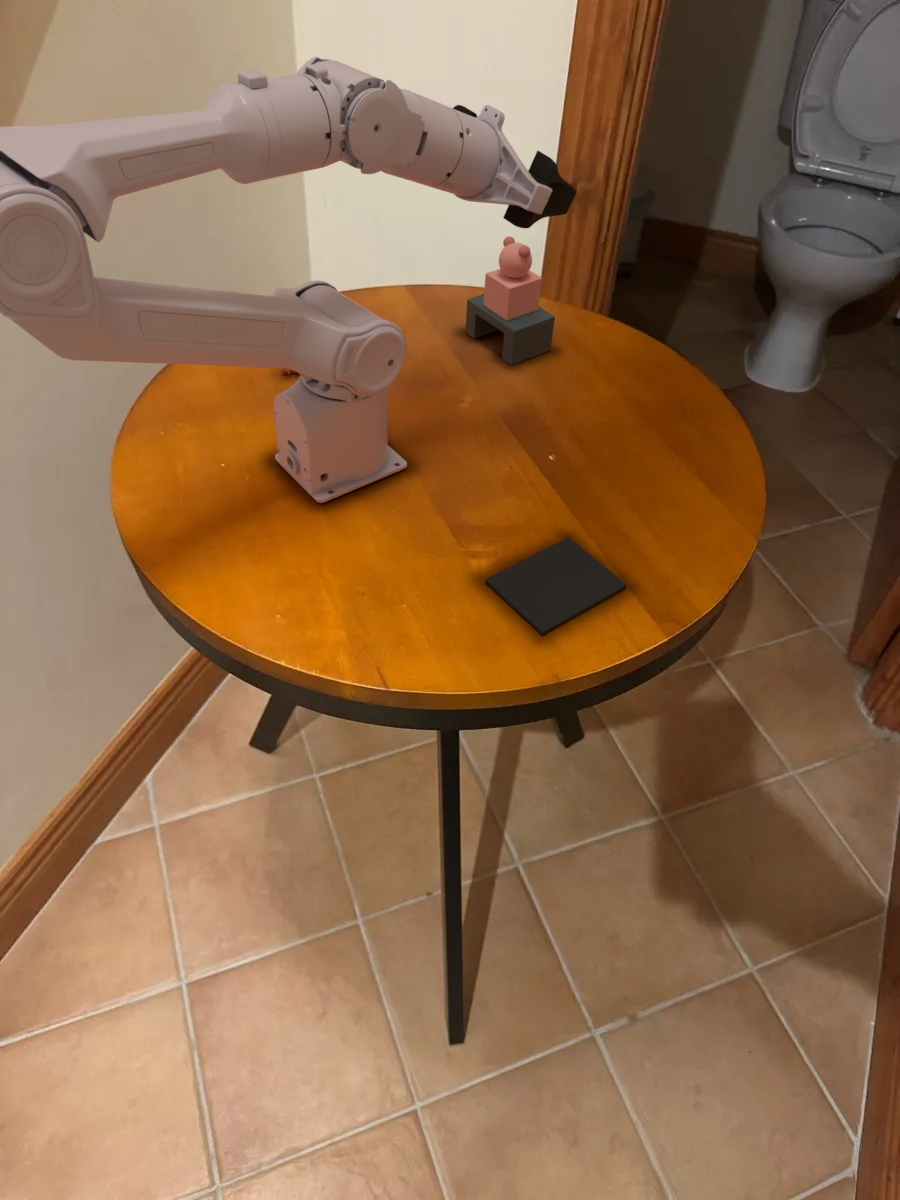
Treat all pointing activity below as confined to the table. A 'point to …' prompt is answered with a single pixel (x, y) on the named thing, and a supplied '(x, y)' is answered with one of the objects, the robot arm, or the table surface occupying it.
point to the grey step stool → (512, 330)
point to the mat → (555, 585)
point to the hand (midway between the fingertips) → (538, 182)
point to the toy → (512, 283)
